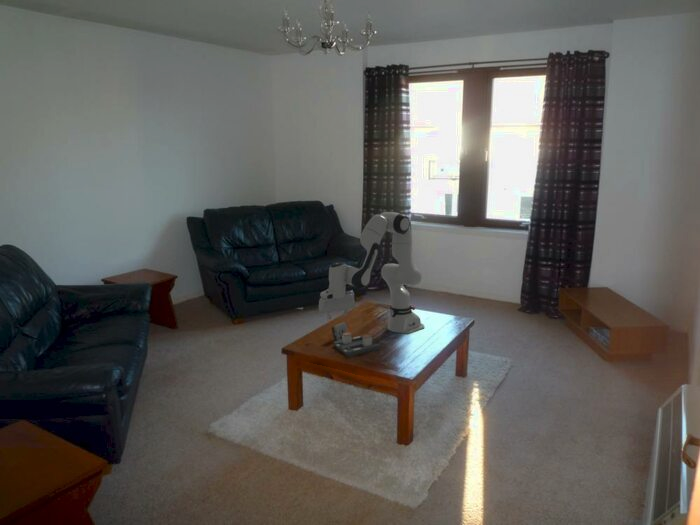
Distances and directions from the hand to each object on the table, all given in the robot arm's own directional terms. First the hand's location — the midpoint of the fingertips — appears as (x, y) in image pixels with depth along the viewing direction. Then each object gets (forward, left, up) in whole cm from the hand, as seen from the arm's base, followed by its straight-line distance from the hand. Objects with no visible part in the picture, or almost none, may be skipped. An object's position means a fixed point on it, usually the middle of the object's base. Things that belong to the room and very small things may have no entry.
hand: (337, 317), depth 274 cm
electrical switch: (-8, -11, -18) cm, 22 cm away
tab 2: (-14, +8, -16) cm, 23 cm away
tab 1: (-6, 0, -16) cm, 17 cm away
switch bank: (-10, +4, -18) cm, 21 cm away
